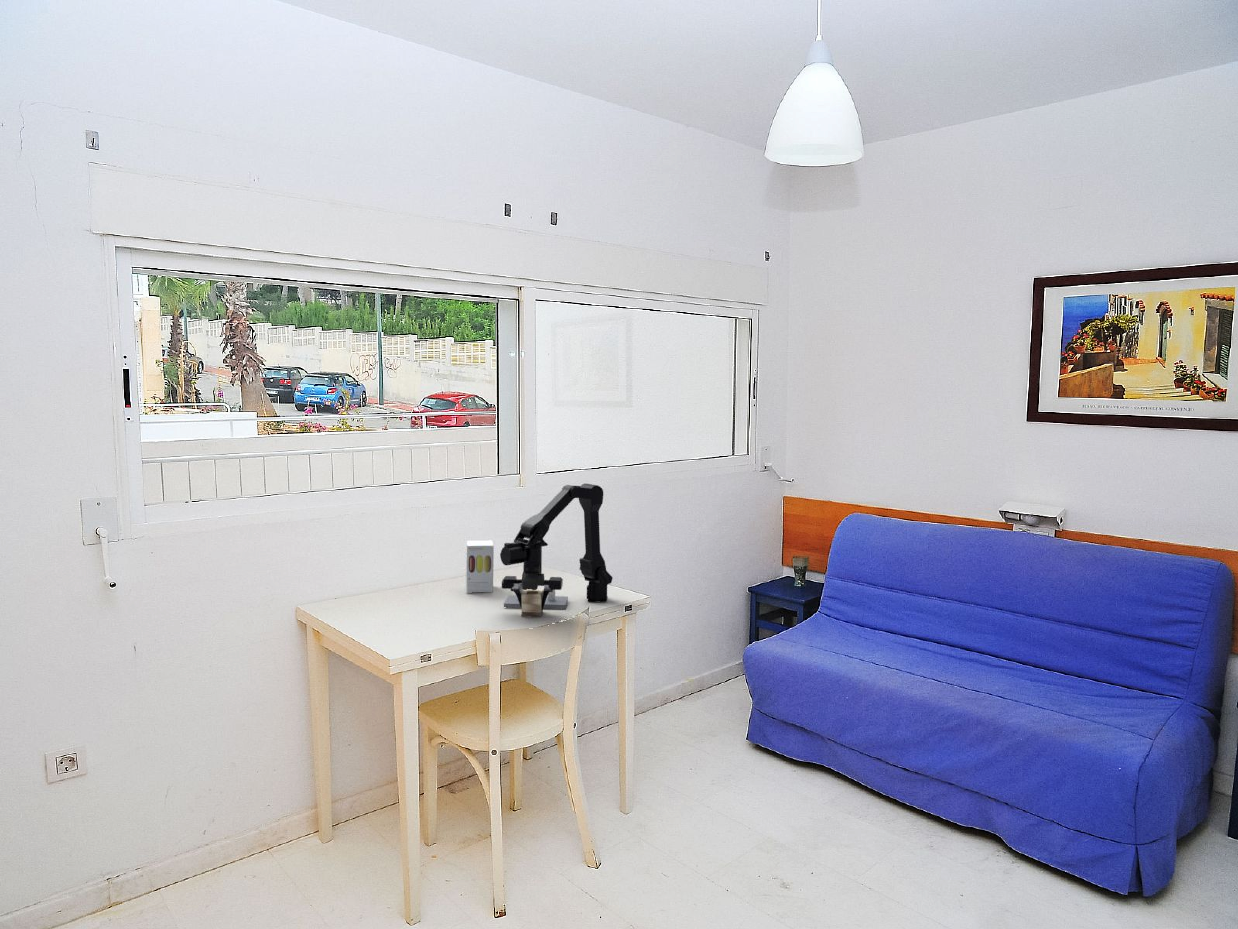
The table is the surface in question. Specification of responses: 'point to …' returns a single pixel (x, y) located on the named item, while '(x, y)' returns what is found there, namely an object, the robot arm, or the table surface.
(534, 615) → the sleeve
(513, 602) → the pin board
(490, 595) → the table surface
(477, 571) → the supplement box
